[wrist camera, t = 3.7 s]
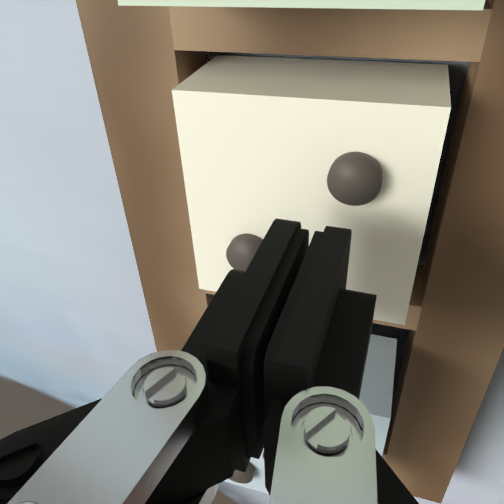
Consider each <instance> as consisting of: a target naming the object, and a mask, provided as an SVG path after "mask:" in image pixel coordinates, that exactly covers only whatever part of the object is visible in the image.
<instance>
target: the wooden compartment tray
mask: <svg viewBox="0 0 504 504" xmlns="http://www.w3.org/2000/svg"><path fill="white" fill-rule="evenodd" d="M76 3H77V8H78V12H79V16H80V21H81V25H82V29H83V33H84V38H85V42H86V46H87V51H88V55H89V59H90V64H91V68H92V72H93V77H94V81H95V85H96V90H97V94H98V98H99V102H100V107H101V111H102V115H103V120H104V124H105V128H106V133H107V137H108V141H109V146H110V150H111V154H112V159H113V163H114V167H115V172H116V176H117V180H118V184H119V189H120V193H121V197H122V202H123V206H124V210H125V215H126V219H127V223H128V228H129V232H130V236H131V241H132V245H133V249H134V254H135V258H136V262H137V266H138V271H139V275H140V279H141V284H142V288H143V292H144V297H145V301H146V305H147V310H148V314H149V318H150V323H151V327H152V331H153V336H154V340H155V344H156V348H157V352H159V351H163V350H178V351H181V350H182V348H183V347H184V345H185V343H186V342H187V340H188V338H189V337H190V335H191V333H192V332H193V330H194V328H195V327H196V325H197V323H198V322H199V320H200V318H201V317H202V315H203V313H204V312H205V310H206V308H207V307H208V305H209V303H210V302H211V300H212V298H213V297H214V295H215V293H216V292H214V291H209V290H203V289H199V284H198V277H197V269H196V262H195V255H194V248H193V240H192V233H191V226H190V219H189V212H188V204H187V197H186V190H185V183H184V175H183V168H182V161H181V154H180V147H179V139H178V132H177V125H176V118H175V110H174V103H173V96H172V89H174V88H175V87H176V86H177V85H179V84H180V83H181V82H183V81H184V80H185V79H187V78H188V77H189V76H191V75H192V74H193V73H194V72H196V71H197V70H198V69H200V68H201V67H202V66H204V65H205V64H206V63H207V58H206V51H209V52H235V53H260V54H286V55H311V56H337V57H363V58H388V59H414V60H439V61H465V62H469V63H468V67H467V72H466V76H465V81H464V85H463V90H462V94H461V99H460V103H459V108H458V112H457V117H456V121H455V126H454V130H453V134H452V139H451V143H450V148H449V152H448V157H447V161H446V166H445V170H444V175H443V179H442V184H441V188H440V193H439V197H438V202H437V206H436V211H435V215H434V220H433V224H432V229H431V233H430V237H429V242H428V246H427V251H426V255H425V260H424V264H423V266H417V270H416V274H415V279H414V284H413V288H412V293H411V298H410V302H409V307H408V312H407V316H406V321H405V325H401V324H396V323H390V322H384V321H379V320H373V323H375V324H381V325H386V326H392V327H397V328H403V329H409V332H408V336H407V341H406V345H405V349H404V354H403V358H402V363H401V367H400V372H399V376H398V381H397V385H396V390H395V394H394V399H393V403H392V408H391V419H390V423H389V428H388V432H387V437H386V441H385V445H384V450H383V454H382V457H383V459H384V460H385V461H386V463H387V464H388V465H389V466H390V468H391V469H392V470H393V471H394V473H395V474H396V475H397V477H398V478H399V479H400V480H401V482H402V483H403V484H404V485H405V487H406V488H407V489H408V491H409V492H410V493H411V494H412V496H415V497H419V498H423V499H427V500H430V501H434V502H438V503H441V502H442V500H443V497H444V495H445V492H446V490H447V487H448V485H449V482H450V480H451V477H452V475H453V472H454V470H455V467H456V465H457V462H458V460H459V457H460V455H461V453H462V450H463V448H464V445H465V443H466V440H467V438H468V435H469V433H470V430H471V428H472V425H473V423H474V420H475V418H476V415H477V413H478V411H479V408H480V406H481V403H482V401H483V398H484V396H485V393H486V391H487V388H488V386H489V383H490V381H491V378H492V376H493V373H494V371H495V368H496V366H497V364H498V361H499V359H500V356H501V354H502V351H503V349H504V0H485V4H484V8H483V10H417V9H342V8H266V7H191V6H118V0H76Z"/></svg>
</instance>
